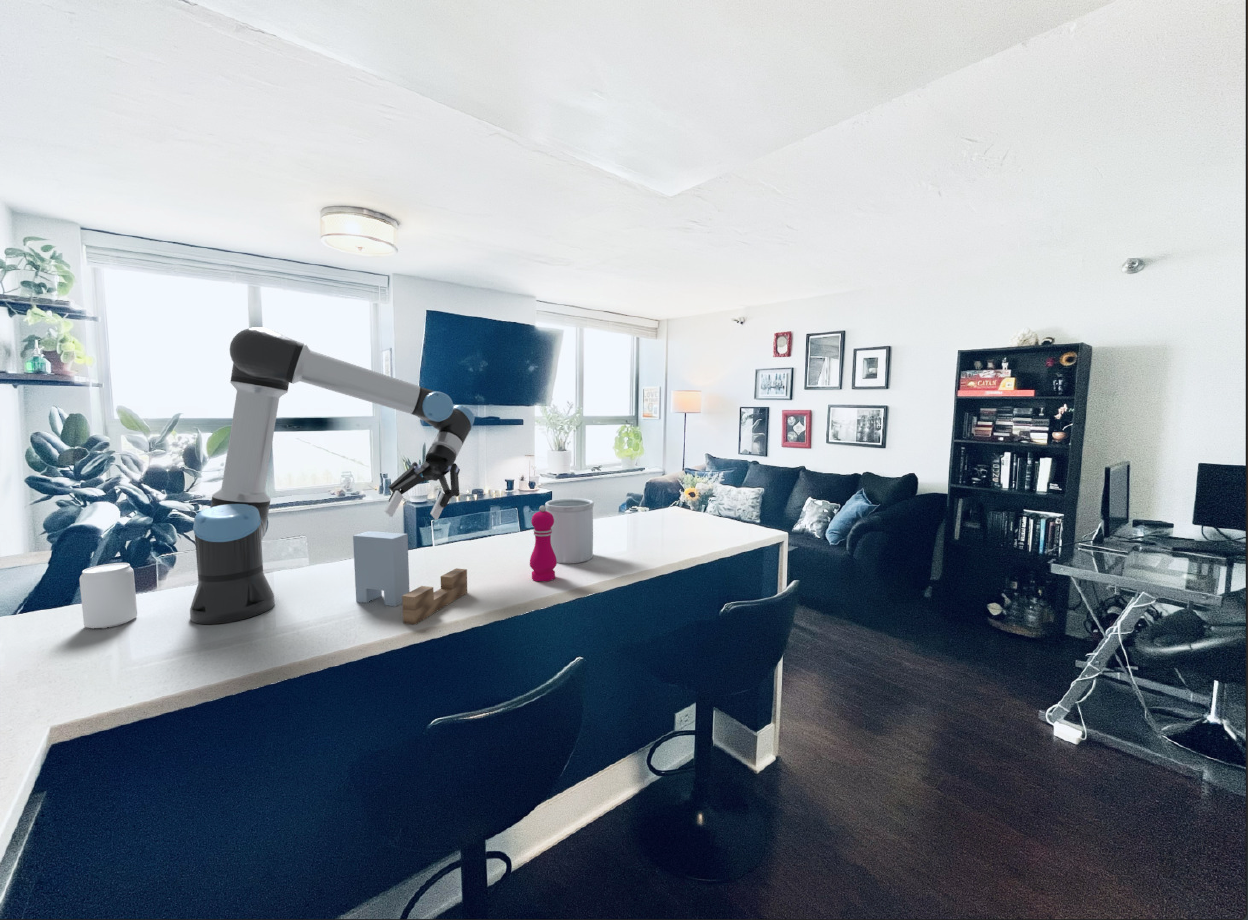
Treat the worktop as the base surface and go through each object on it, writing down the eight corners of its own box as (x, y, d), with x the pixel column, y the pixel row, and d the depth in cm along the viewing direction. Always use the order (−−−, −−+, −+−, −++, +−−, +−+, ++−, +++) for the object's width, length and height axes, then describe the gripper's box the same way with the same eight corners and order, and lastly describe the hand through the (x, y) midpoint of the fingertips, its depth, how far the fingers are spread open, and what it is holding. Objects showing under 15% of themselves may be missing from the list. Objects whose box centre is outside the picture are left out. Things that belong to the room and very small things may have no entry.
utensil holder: (544, 565, 152) (543, 506, 151) (547, 551, 167) (546, 497, 166) (594, 564, 154) (594, 505, 152) (593, 550, 168) (593, 497, 167)
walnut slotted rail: (415, 624, 110) (414, 597, 109) (403, 623, 111) (402, 595, 110) (467, 592, 129) (466, 569, 128) (456, 591, 130) (456, 568, 129)
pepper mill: (538, 584, 135) (537, 509, 134) (525, 577, 141) (524, 505, 139) (561, 578, 140) (561, 506, 138) (547, 572, 146) (547, 502, 144)
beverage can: (145, 613, 115) (140, 560, 114) (125, 627, 108) (120, 571, 107) (98, 618, 112) (92, 564, 111) (74, 633, 105) (69, 575, 104)
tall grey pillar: (356, 601, 123) (353, 535, 121) (371, 594, 127) (368, 530, 126) (395, 606, 120) (392, 538, 118) (409, 599, 125) (407, 533, 123)
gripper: (488, 461, 145) (460, 526, 132) (412, 459, 151) (377, 520, 138) (478, 444, 139) (447, 509, 126) (399, 442, 146) (361, 504, 133)
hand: (410, 515), depth 132 cm, fingers open, 13 cm apart
